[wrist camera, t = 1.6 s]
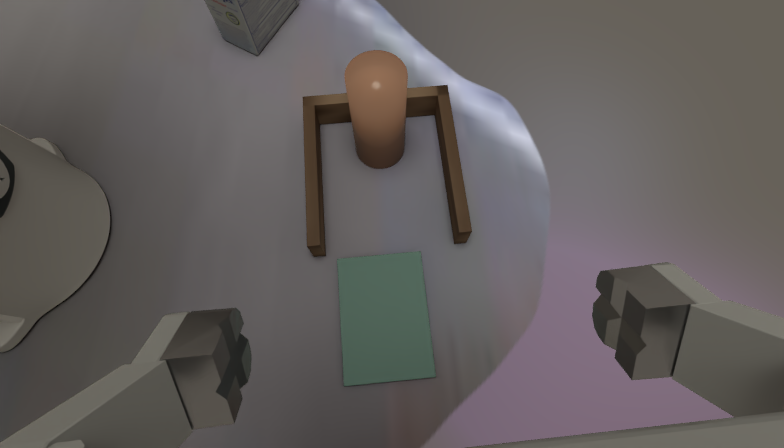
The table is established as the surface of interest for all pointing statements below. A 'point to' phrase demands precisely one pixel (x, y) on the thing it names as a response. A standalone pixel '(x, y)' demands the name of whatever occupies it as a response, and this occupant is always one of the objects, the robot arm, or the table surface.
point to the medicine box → (250, 20)
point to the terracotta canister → (377, 106)
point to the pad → (384, 319)
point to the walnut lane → (338, 111)
